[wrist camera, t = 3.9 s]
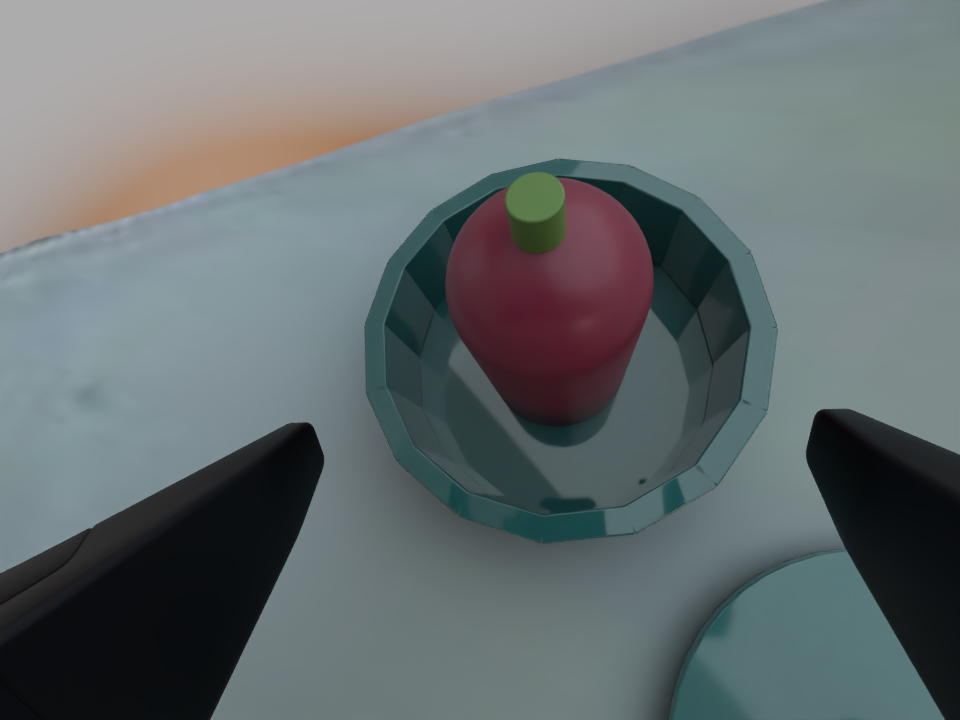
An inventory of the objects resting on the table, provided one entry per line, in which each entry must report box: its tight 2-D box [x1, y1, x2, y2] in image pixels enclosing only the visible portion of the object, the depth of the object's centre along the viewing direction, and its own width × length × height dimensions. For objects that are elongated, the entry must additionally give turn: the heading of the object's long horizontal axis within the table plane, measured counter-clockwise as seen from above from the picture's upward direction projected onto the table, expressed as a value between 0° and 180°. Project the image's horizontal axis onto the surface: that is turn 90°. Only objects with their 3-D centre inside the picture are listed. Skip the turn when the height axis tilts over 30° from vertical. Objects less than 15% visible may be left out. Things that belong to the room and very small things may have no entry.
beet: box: [445, 172, 654, 426], centre depth 14 cm, size 6×6×11 cm
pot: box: [365, 159, 778, 543], centre depth 18 cm, size 14×14×5 cm
